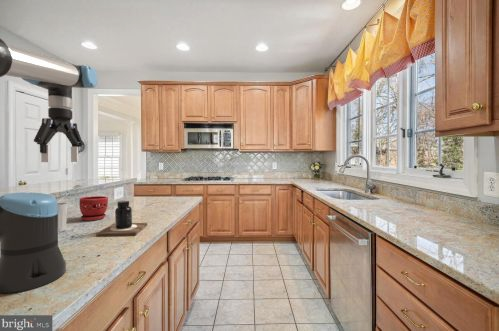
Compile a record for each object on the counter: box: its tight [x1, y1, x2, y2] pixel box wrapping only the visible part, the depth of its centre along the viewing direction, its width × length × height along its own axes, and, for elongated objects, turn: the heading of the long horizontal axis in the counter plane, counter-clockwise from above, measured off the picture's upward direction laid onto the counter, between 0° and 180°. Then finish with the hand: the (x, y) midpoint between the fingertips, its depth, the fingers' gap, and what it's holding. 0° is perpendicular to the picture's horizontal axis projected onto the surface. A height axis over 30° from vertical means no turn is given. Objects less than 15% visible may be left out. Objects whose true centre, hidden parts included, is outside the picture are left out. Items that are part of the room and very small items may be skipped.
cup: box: [57, 202, 69, 232], centre depth 111 cm, size 8×8×12 cm
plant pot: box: [78, 195, 109, 222], centre depth 131 cm, size 13×13×12 cm
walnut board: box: [95, 222, 148, 237], centre depth 110 cm, size 16×16×2 cm
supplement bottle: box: [114, 200, 133, 229], centre depth 110 cm, size 7×7×12 cm
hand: (61, 162), depth 95 cm, fingers open, 13 cm apart
